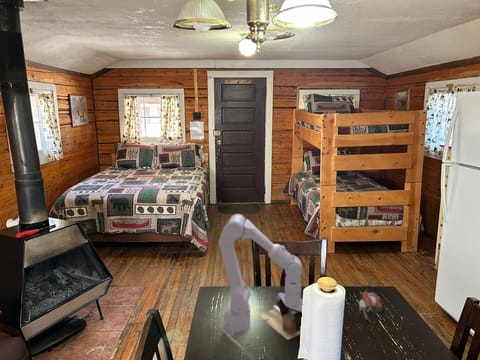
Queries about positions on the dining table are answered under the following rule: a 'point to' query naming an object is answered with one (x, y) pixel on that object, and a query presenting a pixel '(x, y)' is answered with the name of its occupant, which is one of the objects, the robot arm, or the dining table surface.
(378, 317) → the dining table surface
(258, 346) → the dining table surface
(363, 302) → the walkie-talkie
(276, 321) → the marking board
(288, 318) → the brown knobbed block
